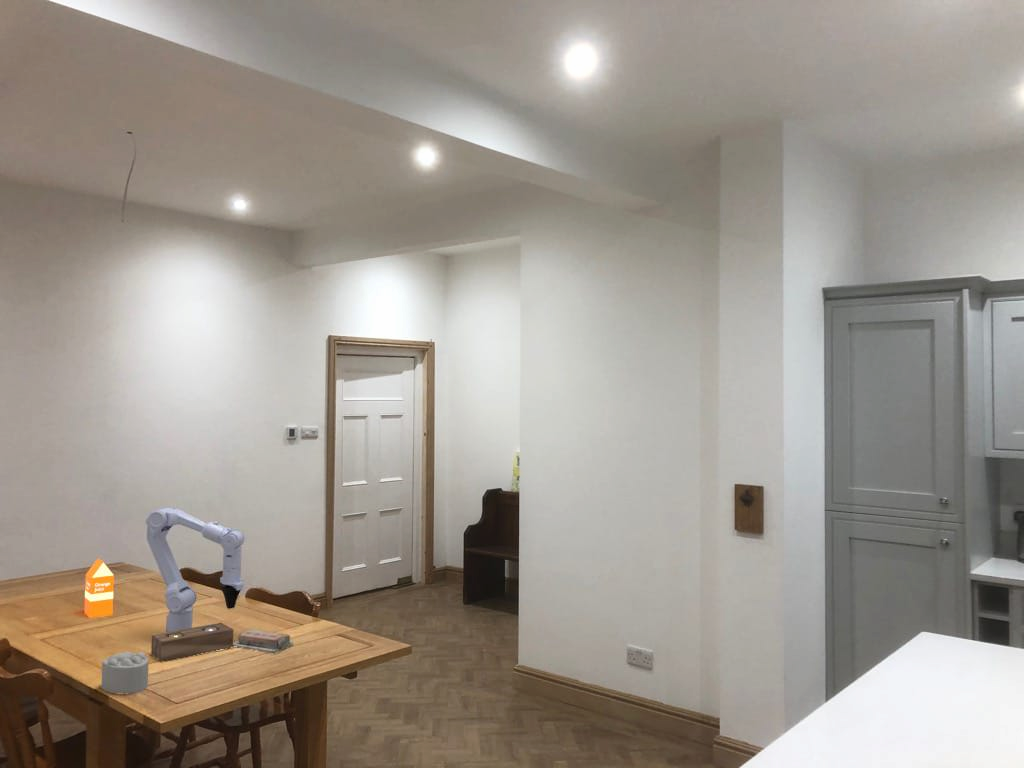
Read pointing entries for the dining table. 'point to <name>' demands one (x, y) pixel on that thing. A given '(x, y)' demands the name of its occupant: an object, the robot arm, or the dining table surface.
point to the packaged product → (263, 640)
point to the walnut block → (191, 642)
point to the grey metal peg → (210, 629)
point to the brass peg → (174, 635)
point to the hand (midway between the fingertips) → (230, 608)
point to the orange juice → (99, 590)
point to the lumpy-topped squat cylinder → (125, 673)
